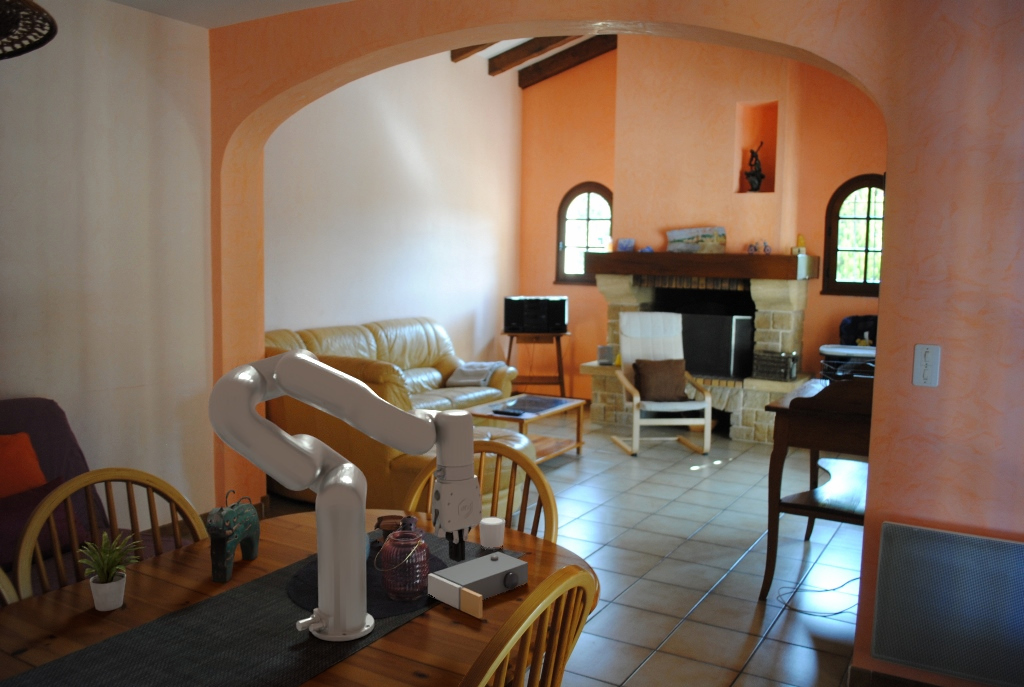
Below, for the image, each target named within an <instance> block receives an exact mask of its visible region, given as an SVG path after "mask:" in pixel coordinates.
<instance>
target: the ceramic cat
mask: <svg viewBox="0 0 1024 687" xmlns="http://www.w3.org/2000/svg"><path fill="white" fill-rule="evenodd" d="M230 493H233V495H235V494H236V490H234V489H230V490H228V491H227V492H226V495H225V505H226V507H223V506H221V507H214V508H212V509H211V510H210V512H209V513H208V515H207V519H206V531H207V533H208V534H209V536H210V549H209V550H210V560H211V562H210V563H211V578H212V582H214V583H221V584H222V583H223V584H224V583H225V584H226V583H228V582H229V581H231V579H232V576H233V567H234V559H235V554H236V550H237V548H238V546H240V553H241V560H242V561H254V560H257V558H258V556H259V546H260V539H261V538H260V536H261V526H260V525H261V524H260V523H261V522H260V518H259V515H258V511H257V509H256V508H255V506H254V505H253V504H252V500H251V498H250V497H249V496H243V497H241V498H240V499H238V501H237V502H234V503H232V504H231V503H230V505H228V498H229V494H230ZM246 499H247V500H248V502H249V503H247V502H241V501H242V500H246Z"/></svg>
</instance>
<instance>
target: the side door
mask: <svg viewBox="0 0 1024 687" xmlns="http://www.w3.org/2000/svg"><path fill="white" fill-rule="evenodd" d="M428 594H430V595H432V596H433V597H432V598H434V597H435V598H434V599H436V600H438V601H440V602H443V603H445V604H446V605H449V606H451V607H453V608H455V609H457V610H458V611H462V612H463V613H466V614H468V615H471V616H472V617H474V618H477V619H481V618H483V601H482V595H480V594H478V593H476V592H473V591H471V590H469V589H467V588H464V587H462V586H460V585H457V584H455V583H453V582H450V581H448V580H446V579H444V578H441V577H439V576H437V575H434V573H432V572H431V573H429V574H427V595H428Z"/></svg>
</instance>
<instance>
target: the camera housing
mask: <svg viewBox="0 0 1024 687" xmlns="http://www.w3.org/2000/svg"><path fill="white" fill-rule="evenodd" d="M433 574H434V575H437V576H439V577H441V578H444V579H446V580H448V581H450V582H453V583H455V584H457V585H460V586H462V587H464V588H467V589H469V590H471V591H473V592H476V593H478V594H480V595H482V600H483V599H485V600H487V599H486V598H488V599H490V598H489V597H491V596H494V595H496V594H499V595H501V594H500V593H502V592H504V593H506V592H505V591H507V592H509V591H508V590H510V589H511V590H510V591H512V590H515V589H516V588H515V587H517V586H519V585H522V584H524V583H527V582H529V562H527V561H524V560H522V559H519V558H517V557H513V556H511V555H509V554H506V553H503V552H501V551H496V552H492V553H490V554H487V555H484V556H481V557H477V558H473V559H471V560H468V561H465V562H461V563H459V564H456V565H452V566H449V567H446V568H444V569H441V570H438V571H434V572H433ZM514 588H515V589H514ZM502 594H503V593H502ZM496 596H497V595H496ZM494 597H495V596H494ZM491 598H492V597H491ZM483 601H484V600H483Z"/></svg>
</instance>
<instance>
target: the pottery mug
mask: <svg viewBox="0 0 1024 687" xmlns="http://www.w3.org/2000/svg"><path fill="white" fill-rule="evenodd" d="M403 517H404V516H403V515H399V514H387V515H380V516H377V518H376V521H377V522H376V523H375V524H374V526H373V527H374V531H376V530H377V529H379V530H382V531H381V532H382V536H381V537H378V538H377V539H376V540H377V542H378V541H381V542H382V543H383V542H384V541H385V539H386V538H387V536H388V535H389V534H390V533H392V532H393V531H395V530H397V529H398V528H399V526H400V522H401V519H402V518H403Z"/></svg>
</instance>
